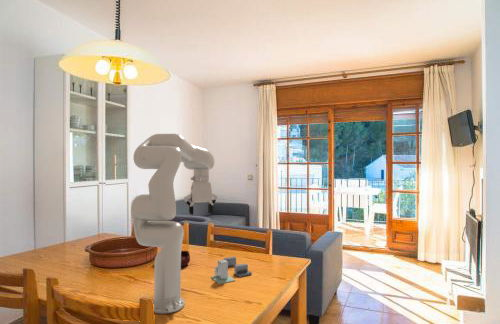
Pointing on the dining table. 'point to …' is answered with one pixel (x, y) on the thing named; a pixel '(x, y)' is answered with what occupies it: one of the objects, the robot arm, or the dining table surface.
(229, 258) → the vise
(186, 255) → the ashtray
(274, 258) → the dining table surface
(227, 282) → the mat
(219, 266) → the hook
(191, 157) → the robot arm
